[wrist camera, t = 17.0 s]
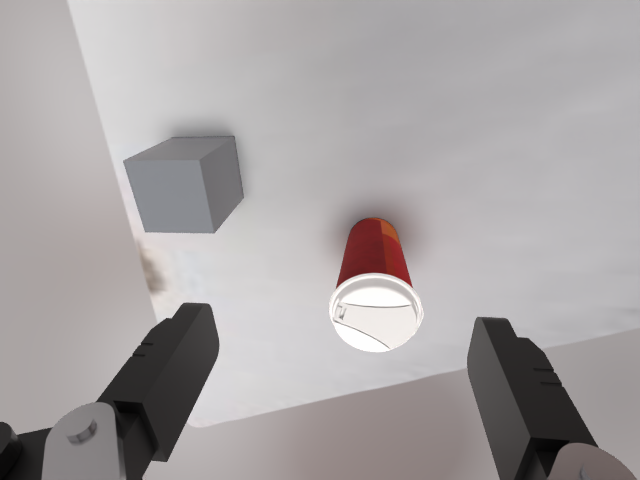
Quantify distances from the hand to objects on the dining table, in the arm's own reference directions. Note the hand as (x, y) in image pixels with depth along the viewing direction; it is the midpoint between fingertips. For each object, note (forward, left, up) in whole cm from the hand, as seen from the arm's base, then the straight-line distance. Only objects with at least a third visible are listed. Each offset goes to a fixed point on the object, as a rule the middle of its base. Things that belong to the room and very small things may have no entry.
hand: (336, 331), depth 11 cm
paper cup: (+8, +9, -28) cm, 31 cm away
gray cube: (+13, -10, -28) cm, 33 cm away
